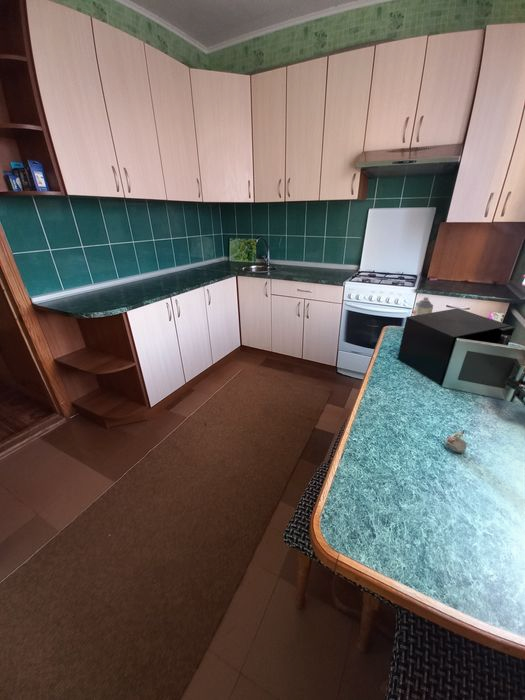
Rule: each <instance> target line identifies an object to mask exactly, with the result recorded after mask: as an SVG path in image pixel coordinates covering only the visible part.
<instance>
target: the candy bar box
mask: <svg viewBox="0 0 525 700" xmlns="http://www.w3.org/2000/svg"><path fill="white" fill-rule="evenodd" d="M505 314H506V313H503V312H497V311H496V312H495V311H489V314H488V315H487V317H486V318H489V319H492V320H495V321H498V322H501V323H503V321H504V317H505Z"/></svg>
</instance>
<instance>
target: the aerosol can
mask: <svg viewBox="0 0 525 700" xmlns="http://www.w3.org/2000/svg"><path fill="white" fill-rule="evenodd" d="M433 308H434V304H432V302H431V301H430V299H429V296H424V297H423V299H421V300H419V301H418V302H416V303H415V306H414V309H413V313H412V316H415V315H421V314H427V313H433Z"/></svg>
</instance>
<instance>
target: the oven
mask: <svg viewBox="0 0 525 700" xmlns="http://www.w3.org/2000/svg"><path fill="white" fill-rule="evenodd" d="M515 329H516V328H515V326H511V325H510V324H507V323H504V322H502V323H501V322H498V321H495V320H492V319H489V318H487V317H486V316H482V315H480V314H476V313H473V312H470V311H468V310H464V309H462V308H450V309H446V310H439V311H432V313H427V314H421V315H415V316H413V315H410V316H406V317H405V322H404V327H403V331H402V335H401V339H400V344H399V350H398V354H397V360H398V361H401V362H402V363H404V364H405V365H407V366H408V367H410V368H411V369H413V370H414V371H417V372H418V373H420V374H422V375H423V376H425V377H426V378H428V379H429V380H431V381H433V382H435V383H436V384H438V385H442V383H443V379H444V376H445V373H446V370H447V367H448V364H449V360H450V357H451V354H452V351H453V348H454V344H455V341H456V338H460V339H467V340H474V341H481V342H488V343H495V344H502V345H509V343H510V341H511V339H512V337H513V334H514V331H515Z"/></svg>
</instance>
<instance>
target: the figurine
mask: <svg viewBox="0 0 525 700" xmlns="http://www.w3.org/2000/svg"><path fill="white" fill-rule="evenodd" d="M464 433H465V430H464V429H462V430H461V431H460V432H458V431H456V433H454V434H451V435H450V436H448V437H447V438H446V439H445V442H444V443H445V447H446V448H448V449H450V450H451V451H453V452H455V453H458V454H459V453H460V454H464V453H465V452H466V450H467V447H468V445H467V443H466V441H465V440H464V439H462V435H464Z"/></svg>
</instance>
